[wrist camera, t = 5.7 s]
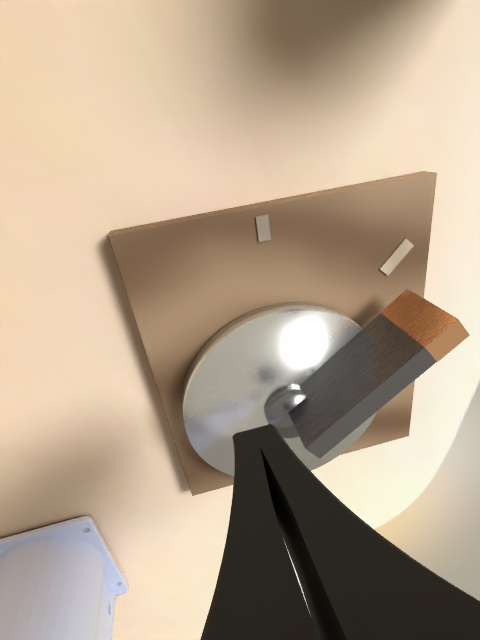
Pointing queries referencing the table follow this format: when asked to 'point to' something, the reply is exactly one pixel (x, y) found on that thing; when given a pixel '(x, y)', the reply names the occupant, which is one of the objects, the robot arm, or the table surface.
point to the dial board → (274, 280)
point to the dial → (309, 374)
